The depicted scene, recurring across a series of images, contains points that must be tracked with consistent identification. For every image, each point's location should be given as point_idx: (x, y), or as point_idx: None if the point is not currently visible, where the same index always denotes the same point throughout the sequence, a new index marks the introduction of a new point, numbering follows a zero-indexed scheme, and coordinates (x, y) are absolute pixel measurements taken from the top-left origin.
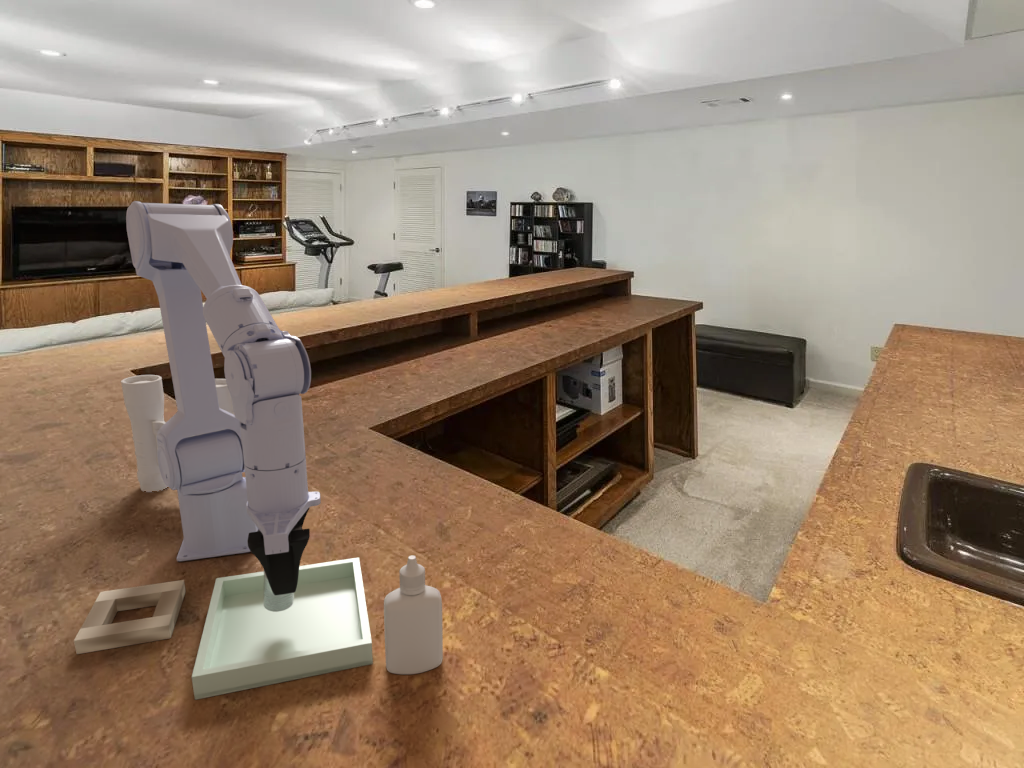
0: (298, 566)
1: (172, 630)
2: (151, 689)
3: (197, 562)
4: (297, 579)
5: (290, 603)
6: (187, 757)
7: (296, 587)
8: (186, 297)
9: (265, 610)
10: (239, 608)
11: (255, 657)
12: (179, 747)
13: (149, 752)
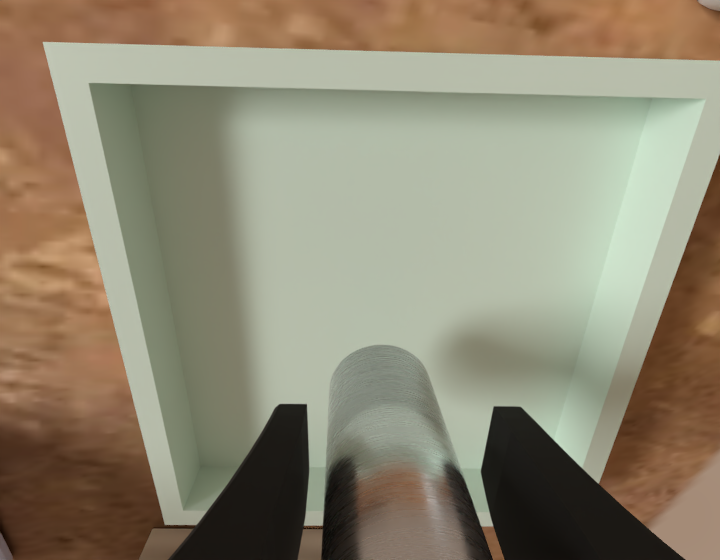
0: (649, 532)
1: (309, 532)
2: (483, 532)
3: (12, 522)
4: (562, 449)
5: (415, 361)
6: (702, 465)
7: (529, 417)
8: None
9: (295, 377)
10: None
11: (494, 390)
12: (668, 478)
13: (648, 512)
